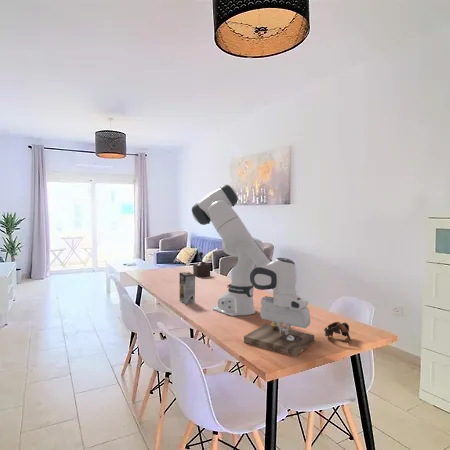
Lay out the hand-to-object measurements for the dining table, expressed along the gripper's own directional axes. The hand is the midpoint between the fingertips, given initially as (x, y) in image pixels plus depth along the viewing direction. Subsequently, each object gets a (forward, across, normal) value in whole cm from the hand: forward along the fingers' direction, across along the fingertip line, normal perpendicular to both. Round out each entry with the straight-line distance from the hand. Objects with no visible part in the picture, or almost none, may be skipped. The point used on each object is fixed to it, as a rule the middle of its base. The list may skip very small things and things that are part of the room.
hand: (284, 334), depth 134 cm
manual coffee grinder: (+4, -115, +87) cm, 144 cm away
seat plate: (+4, -2, 0) cm, 4 cm away
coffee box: (+4, -71, +22) cm, 74 cm away
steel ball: (+2, +3, 0) cm, 3 cm away
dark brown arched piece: (+4, +16, +17) cm, 24 cm away
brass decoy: (-1, -7, +6) cm, 9 cm away
